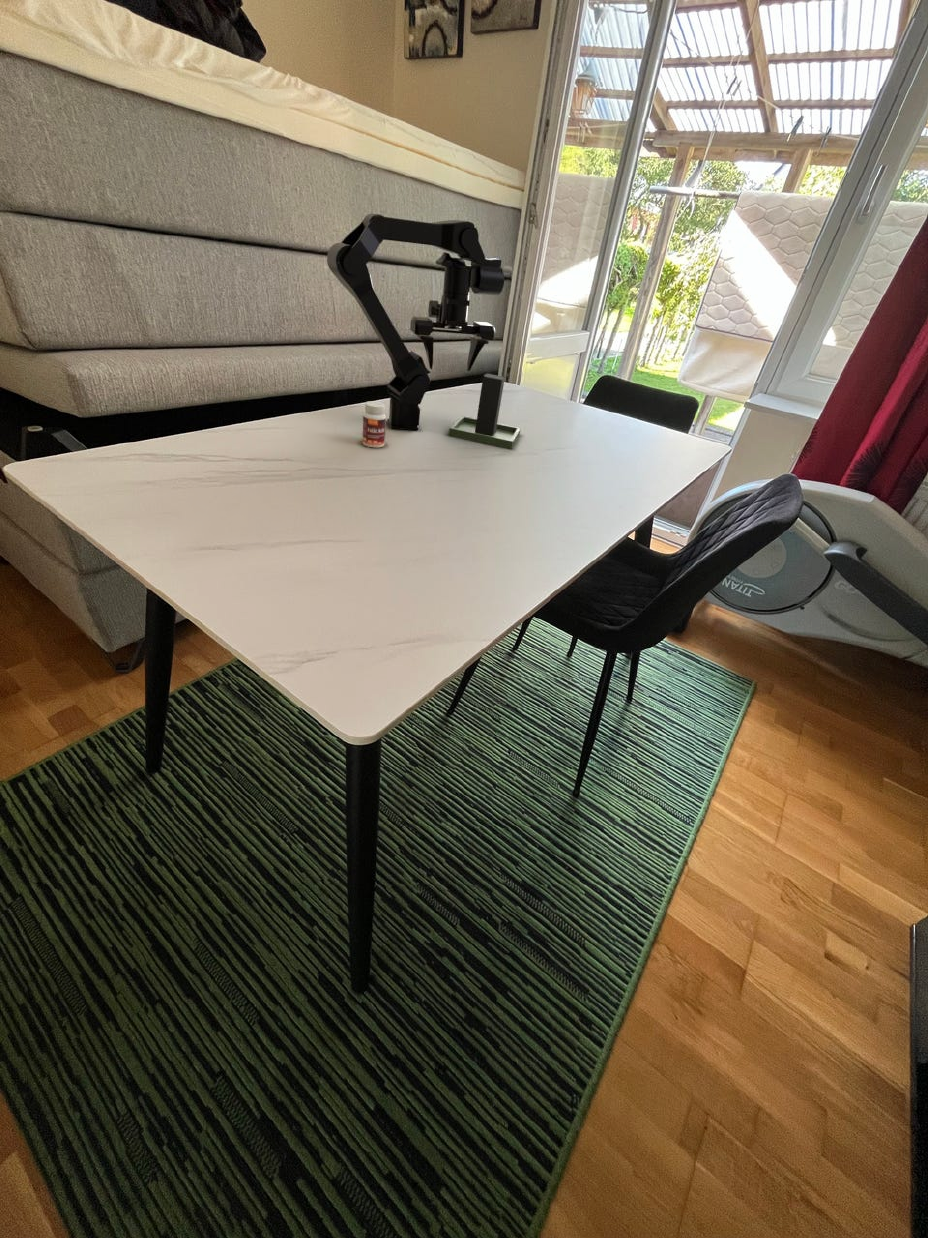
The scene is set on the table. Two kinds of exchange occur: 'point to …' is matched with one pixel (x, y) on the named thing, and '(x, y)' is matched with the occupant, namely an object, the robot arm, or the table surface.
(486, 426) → the tall black pillar
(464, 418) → the shallow green tray
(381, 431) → the pill bottle
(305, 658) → the table surface
